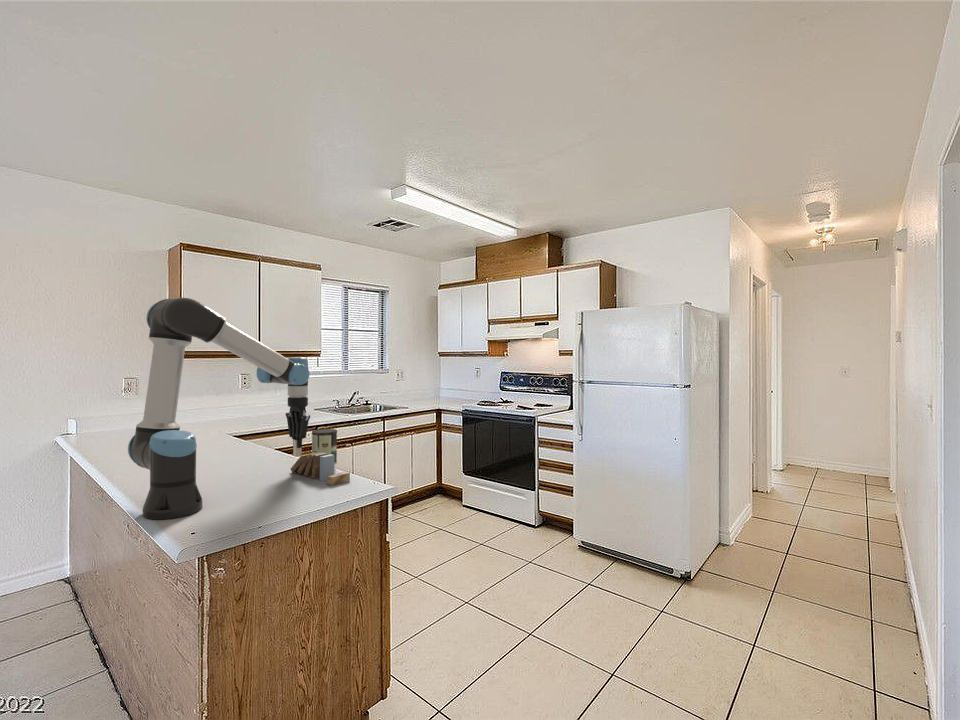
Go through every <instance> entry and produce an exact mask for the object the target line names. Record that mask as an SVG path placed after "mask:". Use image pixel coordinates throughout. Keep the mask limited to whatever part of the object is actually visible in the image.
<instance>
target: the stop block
mask: <svg viewBox="0 0 960 720" xmlns="http://www.w3.org/2000/svg"><path fill="white" fill-rule="evenodd" d="M350 478H351V473H350V472H349V471H341V472H337V473H334V474H333V475H329V476H327V481H326V484H327V485H329V486H336V485H339V484H343V483H347V482H350V480H351V479H350Z"/></svg>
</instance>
